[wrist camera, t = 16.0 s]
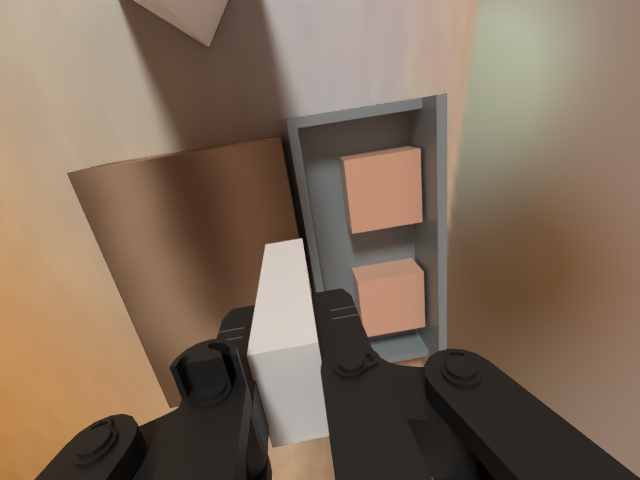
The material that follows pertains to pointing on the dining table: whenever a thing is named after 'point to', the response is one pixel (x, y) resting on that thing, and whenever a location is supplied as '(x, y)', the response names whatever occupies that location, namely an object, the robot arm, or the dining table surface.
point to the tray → (383, 244)
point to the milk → (189, 15)
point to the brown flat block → (188, 237)
